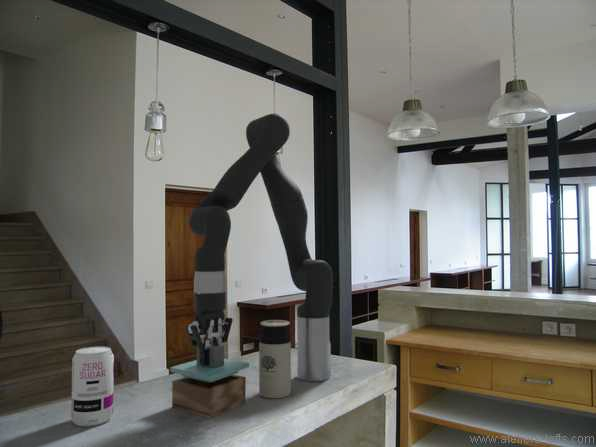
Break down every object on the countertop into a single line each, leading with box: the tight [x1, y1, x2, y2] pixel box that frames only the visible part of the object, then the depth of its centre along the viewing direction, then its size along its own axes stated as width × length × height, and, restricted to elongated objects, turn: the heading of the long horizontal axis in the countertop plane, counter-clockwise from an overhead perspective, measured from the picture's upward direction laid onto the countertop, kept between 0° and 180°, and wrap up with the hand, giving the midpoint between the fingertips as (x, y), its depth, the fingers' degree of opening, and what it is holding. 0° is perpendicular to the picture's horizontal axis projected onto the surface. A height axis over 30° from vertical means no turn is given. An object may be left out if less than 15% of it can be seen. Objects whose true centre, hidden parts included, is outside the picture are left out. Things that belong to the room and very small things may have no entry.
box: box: [171, 374, 247, 419], centre depth 111 cm, size 12×12×6 cm
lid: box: [169, 343, 250, 383], centre depth 111 cm, size 13×13×7 cm
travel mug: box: [258, 319, 292, 400], centre depth 119 cm, size 8×8×18 cm
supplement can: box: [70, 346, 115, 427], centre depth 101 cm, size 8×8×15 cm
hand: (210, 363), depth 111 cm, fingers closed on lid, 3 cm apart
